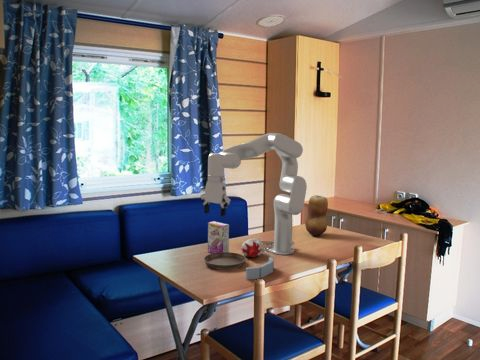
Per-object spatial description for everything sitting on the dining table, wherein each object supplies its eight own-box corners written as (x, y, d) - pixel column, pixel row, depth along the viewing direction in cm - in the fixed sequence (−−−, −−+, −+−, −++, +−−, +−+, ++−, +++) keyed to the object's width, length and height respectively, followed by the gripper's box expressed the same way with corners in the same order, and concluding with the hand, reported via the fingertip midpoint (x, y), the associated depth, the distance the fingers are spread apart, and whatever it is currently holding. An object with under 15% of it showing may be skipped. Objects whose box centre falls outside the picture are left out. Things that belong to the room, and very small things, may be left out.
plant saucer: (195, 262, 216) (195, 256, 215) (229, 255, 228) (229, 249, 228) (219, 274, 200) (219, 267, 199) (254, 266, 212) (254, 259, 212)
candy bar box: (207, 252, 232) (207, 222, 230) (213, 250, 236) (213, 220, 233) (222, 256, 225) (223, 226, 223) (229, 254, 229) (229, 224, 226)
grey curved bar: (269, 266, 211) (269, 256, 211) (278, 268, 208) (279, 258, 208) (244, 279, 194) (244, 268, 193) (254, 281, 191) (254, 270, 190)
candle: (259, 250, 235) (265, 263, 220) (238, 251, 233) (243, 263, 218) (260, 235, 232) (266, 246, 218) (239, 235, 230) (244, 247, 216)
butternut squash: (326, 238, 263) (328, 198, 260) (303, 237, 266) (305, 197, 263) (326, 233, 276) (328, 194, 273) (305, 231, 279) (307, 193, 276)
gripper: (235, 180, 205) (234, 215, 207) (206, 176, 214) (205, 210, 216) (225, 181, 198) (224, 218, 201) (196, 178, 208) (195, 213, 210)
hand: (214, 214), depth 209 cm, fingers open, 9 cm apart
